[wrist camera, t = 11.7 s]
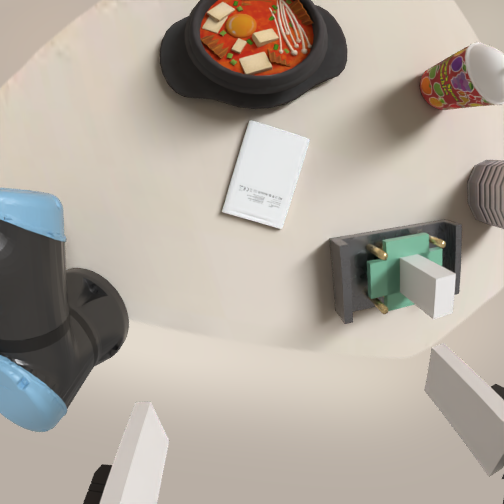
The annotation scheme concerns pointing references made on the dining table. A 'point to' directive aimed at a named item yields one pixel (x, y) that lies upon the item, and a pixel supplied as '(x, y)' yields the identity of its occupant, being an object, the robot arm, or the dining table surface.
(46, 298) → the robot arm
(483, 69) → the smoothie
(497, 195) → the can
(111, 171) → the dining table surface
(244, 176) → the external hard drive
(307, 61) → the casserole
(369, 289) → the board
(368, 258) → the chassis
